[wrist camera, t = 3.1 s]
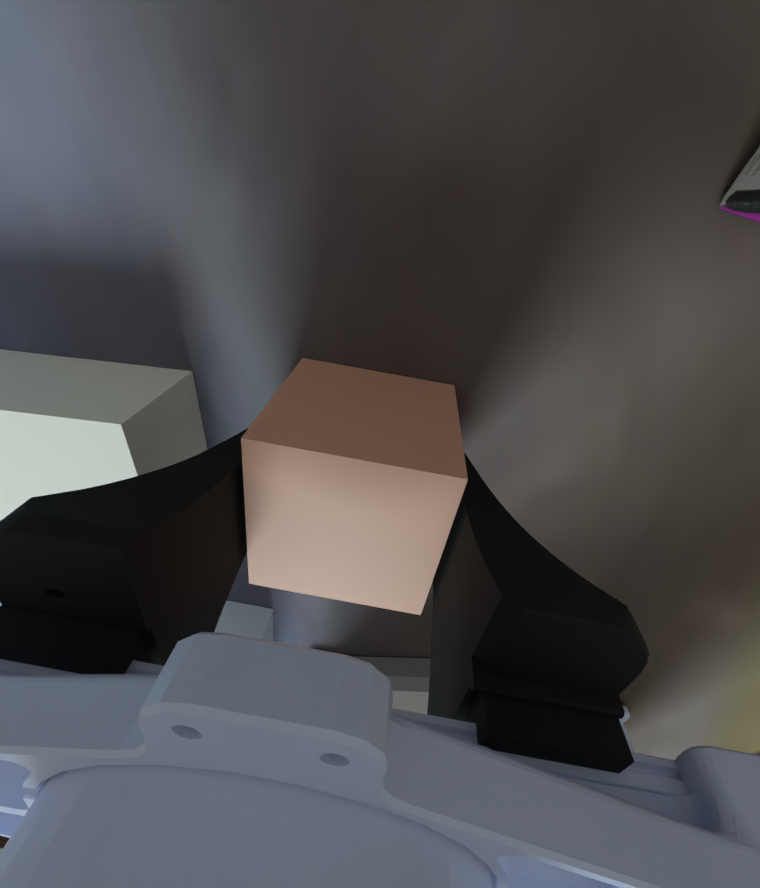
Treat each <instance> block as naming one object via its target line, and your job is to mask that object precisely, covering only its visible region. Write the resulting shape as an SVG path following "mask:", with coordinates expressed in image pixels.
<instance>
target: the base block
mask: <svg viewBox="0 0 760 888" xmlns="http://www.w3.org/2000/svg"><path fill="white" fill-rule="evenodd" d="M206 450H208V449H207V444H206V439H205V434H204V428H203V423H202V418H201V413H200V408H199V403H198V398H197V393H196V388H195V383H194V378H193V372H192V371H186V370H177V369H168V368H159V367H151V366H142V365H133V364H124V363H116V362H107V361H98V360H89V359H80V358H72V357H63V356H54V355H45V354H37V353H28V352H19V351H10V350H1V349H0V521H1V520H2V519H4V518H5V517H6V516H7V515H9V514H10V513H11V512H13V511H14V510H15V509H17V508H18V507H19V506H21V505H22V504H23V503H25V502H26V501H27V500H28V499H30V498H31V497H37V496H44V495H50V494H56V493H62V492H68V491H75V490H80V489H86V488H91V487H95V486H100V485H104V484H109V483H113V482H117V481H121V480H125V479H129V478H133V477H136V476H139V475H142V474H146V473H149V472H152V471H155V470H159V469H162V468H165V467H168V466H170V465H173V464H176V463H178V462H181V461H183V460H186V459H188V458H191V457H193V456H195V455H198V454H200V453H202V452H204V451H206Z"/></svg>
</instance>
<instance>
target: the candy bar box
mask: <svg viewBox="0 0 760 888" xmlns="http://www.w3.org/2000/svg"><path fill="white" fill-rule="evenodd" d="M720 208H721V209H722V210H724V211H727V212H730V213H733V214H736V215H739V216H742V217H745V218H748V219H751V220H754V221H757V222H760V142H759V144H758V145H757V146H756V148H755V149H754V151H753V152H752V154H751V155H750V157H749V158H748V160H747V161H746V163H745V165H744V166H743V168H742V169H741V171H740V173H739V174H738V176H737V178H736V179H735V181H734V182H733V184H732V185H731V187H730V188H729V190H728V191H727V193H726V194H725V196H724V197H723V199H722V200H721V203H720Z"/></svg>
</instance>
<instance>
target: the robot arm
mask: <svg viewBox="0 0 760 888" xmlns="http://www.w3.org/2000/svg"><path fill="white" fill-rule="evenodd" d="M247 430H248V429H246V430H244V431H242V432H240V433H239V434H237V435H235V436H233V437H232V438H230V439H228V440H226V441H224V442H222V443H220V444H218V445H216V446H214V447H212V448H210V449H208V450H206V451H204V452H202V453H200V454H198V455H195V456H193V457H191V458H188V459H186V460H183V461H181V462H178V463H176V464H173V465H170V466H168V467H165V468H162V469H159V470H155V471H152V472H149V473H146V474H142V475H139V476H136V477H133V478H129V479H125V480H121V481H117V482H113V483H109V484H104V485H100V486H95V487H91V488H86V489H80V490H75V491H68V492H62V493H56V494H50V495H44V496H37V497H31V498H30V499H28V500H27V501H26V502H25V503H23V504H22V505H21V506H19V507H18V508H17V509H15V510H14V511H13V512H11V513H10V514H9V515H7V516H6V517H5V518H4V519H2V520H1V521H0V602H1V604H2V606H1V607H0V836H4V837H8V838H10V839H9V840H8V842H7V843H6V845H5V846H4V848H3V849H2V851H1V852H0V888H760V757H759V756H757V755H755V754H750V753H745V752H739V751H734V750H728V749H723V748H717V747H712V746H696V747H691V748H689V749H687V750H685V751H683V752H682V753H681V754H680V755H679V756H678V757H677V758H676V760H670V759H665V758H659V757H654V756H649V755H643V754H638V753H635V752H634V749H633V746H632V744H631V741H630V738H629V736H628V733H627V730H626V727H625V725H624V722H626V721H627V720H628V719H629V717H630V713H629V711H628V708H626V707H625V706H622V703H621V701H620V698H619V694H620V693H621V692H622V691H623V690H624V689H625V688H626V687H627V686H628V685H629V684H630V683H631V682H632V681H633V680H634V679H635V678H636V677H637V676H638V675H639V674H640V673H641V671H642V670H643V669H644V667H645V666H646V664H647V662H648V657H649V651H648V649H647V646H646V643H645V641H644V639H643V637H642V635H641V633H640V631H639V628H638V626H637V624H636V622H635V620H634V618H633V616H632V615H631V613H630V611H629V609H628V607H627V606H626V605H624V604H623V603H621V602H620V601H618V600H617V599H615V598H613V597H612V596H610V595H609V594H607V593H605V592H604V591H602V590H601V589H599V588H598V587H596V586H594V585H593V584H591V583H590V582H588V581H587V580H585V579H584V578H583V577H581V576H580V575H578V574H577V573H576V572H574V571H573V570H572V569H570V568H569V567H567V566H566V565H565V564H564V563H562V562H561V561H560V560H558V559H557V558H556V557H555V556H553V555H552V554H551V553H550V552H549V551H548V550H546V549H545V548H544V547H543V546H542V545H541V544H539V543H538V542H537V541H536V540H535V539H534V538H533V537H532V536H531V535H529V534H528V533H527V532H526V531H525V530H524V529H523V528H522V527H521V526H520V525H519V523H518V522H517V521H516V520H515V519H514V518H513V517H512V516H511V515H510V514H509V513H508V512H507V511H506V509H505V508H504V507H503V506H502V505H501V503H500V502H499V501H498V500H497V499H496V497H495V496H494V495H493V493H492V492H491V491H490V489H489V488H488V487H487V485H486V484H485V483H484V481H483V480H482V478H481V477H480V475H479V474H478V472H477V471H476V469H475V468H474V466H473V465H472V463H471V462H470V460H469V459H468V457H467V456H466V454H465V453H464V456H465V463H466V470H467V477H468V481H467V484H466V486H465V489H464V492H463V495H462V498H461V501H460V504H459V507H458V509H457V512H456V515H455V518H454V521H453V524H452V527H451V530H450V532H449V535H448V538H447V541H446V544H445V547H444V550H443V552H442V555H441V558H440V561H439V564H438V567H437V570H436V573H435V575H434V578H433V623H432V645H431V663H430V680H429V695H428V709H427V714H422V713H416V712H411V711H405V710H400V709H395V708H392V702H393V693H392V688H391V682H390V680H389V679H388V678H387V677H386V676H385V675H384V674H383V673H382V672H381V671H379V670H378V669H377V668H376V667H375V666H373V665H372V664H371V663H369V662H366V661H363V660H360V659H357V658H354V657H351V656H348V655H344V654H338V653H333V652H328V651H322V650H317V649H311V648H306V647H301V646H295V645H290V644H284V643H279V642H273V641H268V640H263V639H257V638H252V637H246V636H241V635H235V634H230V633H220V632H214V631H215V629H216V626H217V623H218V620H219V618H220V615H221V613H222V610H223V608H224V605H225V603H226V600H227V597H228V595H229V592H230V590H231V587H232V585H233V583H234V580H235V578H236V575H237V573H238V571H239V568H240V566H241V563H242V561H243V559H244V557H245V555H246V553H247V539H246V520H245V502H244V484H243V466H242V447H241V437H242V436H243V435H244V434H245V432H246V431H247Z"/></svg>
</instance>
